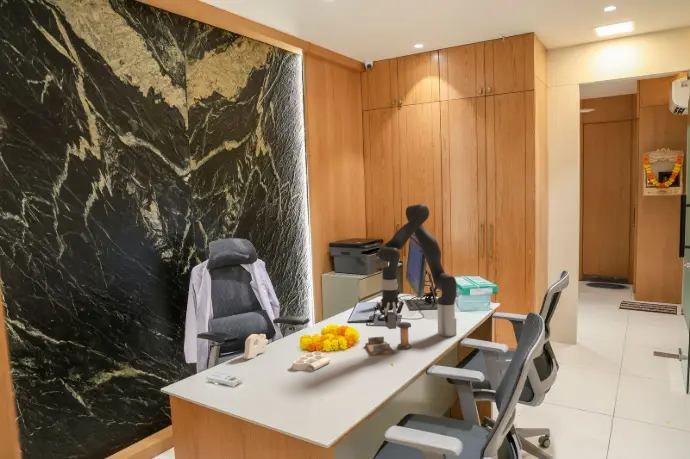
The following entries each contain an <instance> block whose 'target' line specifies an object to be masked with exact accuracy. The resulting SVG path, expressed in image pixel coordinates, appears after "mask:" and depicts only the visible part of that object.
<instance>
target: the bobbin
mask: <svg viewBox="0 0 690 459" xmlns="http://www.w3.org/2000/svg"><path fill="white" fill-rule="evenodd" d="M411 327H412V323H411V322H407V321H401V322H397V323H396V328H399V331H400V332H399V333H400V334H399V336H400V337H399V339H400V343H398V344H397V349H399V350H402V351H403V350H410V349H412V346H413V345H412V344H411V343H409V342H410V341H409V328H411Z"/></svg>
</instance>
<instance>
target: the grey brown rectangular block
mask: <svg viewBox="0 0 690 459" xmlns="http://www.w3.org/2000/svg"><path fill="white" fill-rule="evenodd" d="M387 316H388V323H386V322H385V321H384V323H385V327H386V328H387V329H388V330H393V329H394V330H395V329H397V321H396V314H395V313H393V311H388V314H387Z"/></svg>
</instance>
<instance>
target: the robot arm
mask: <svg viewBox="0 0 690 459" xmlns="http://www.w3.org/2000/svg"><path fill="white" fill-rule="evenodd" d="M429 209H430V208H429V207H428V206H427V205H426V204H423V203H419V204H413V205H409V206H407V207H406V209H405V217H406V220H407V222H406V223H405V224H404V225H403V226H401V227H400V228H399V229H397V231H396V232H395V233H394V235H393V236H392V237H391V239H390V240H388V241H387V242H386V243H385V244H383V245H382V246H381V247H380V249H379V251H378V259H379V260H380V261H381V262H387V263H389V264H388V265H387V266H383V268H382V270H381V273H382V278H381V292H382V294H381V296H382V298H381V299H382V301H381V300H380V301H379V302H376V305H377V306H378V309H377V310H378V311H379V313H380V314H381V315H383V319H384V320H383V321H384V323H385V322H386V323H388V316H387V314H388V312H389V311H390V310H389V309H390V308H392V309H393V310H392V312H393V313H395V314H396V322H397V321H398V315H399V314H401V313H402V310H403V307H404V304H405V302H404V300H399V297H398V296H399V295H398V291H399V290H398V287H399V286H398V274H397V272H398V271H397V270H398V266H399V262H400V260H401V259H400V258H401V253H400V250H402V249H403V248H404V247H405V245H406V244H407V243H408V241H409V239H410V238H411V237H412V235H415V237H416V239H417V241H418V243H419V247H420V249H421V251H422V254H423V257H424V258H425V260H426V264H427V266H428V268H429V271H430V275H431V277H432V279H433V280H432V281H433V283H434V286H435V288H436V289H438V290H439V291H441V296H439V297H438V298H437V299H436V300H437V301H436V302H437V306H436V307H437V335H438V336H440V337H454V336H457V317H456V315H455V314H456V312H455V310H456V309H455V307H456V304H455V302H456V298H457V280H456V277H454V276H453V275H451V274H446V272H445V270H444V268H443V266H442V262H441V259H442V251H441V248H440V245H439V243H438V240H437V239H436V238H435V237H434V236H433V234H431V233H430V232H429V231H428V230H427V229H426V228H425V226H424V225H423V224H424V223H425V222H426V221H427V219H428V218H429V216H430V210H429ZM382 304H383V305H384V306H385V308H384V310H382V308H381V306H382ZM396 305H398V308H397V309H396Z"/></svg>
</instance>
